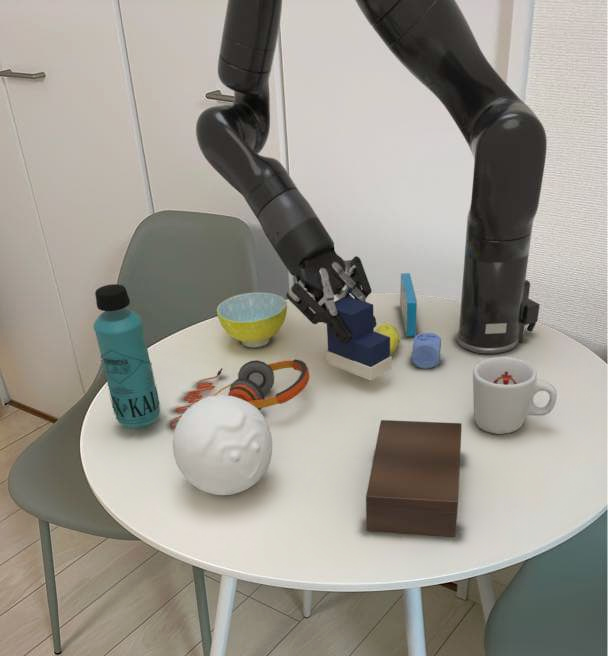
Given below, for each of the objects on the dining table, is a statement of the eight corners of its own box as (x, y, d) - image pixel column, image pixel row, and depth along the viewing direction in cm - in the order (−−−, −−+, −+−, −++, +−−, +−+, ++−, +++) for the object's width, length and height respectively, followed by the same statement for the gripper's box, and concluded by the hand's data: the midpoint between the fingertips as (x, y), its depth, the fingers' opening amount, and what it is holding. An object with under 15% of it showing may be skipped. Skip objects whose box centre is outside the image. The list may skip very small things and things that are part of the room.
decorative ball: (213, 528, 88) (197, 442, 81) (165, 482, 96) (146, 400, 88) (295, 488, 93) (288, 404, 86) (243, 448, 101) (232, 367, 93)
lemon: (370, 360, 117) (370, 337, 115) (376, 338, 123) (376, 315, 121) (397, 361, 117) (397, 338, 114) (402, 338, 123) (402, 315, 120)
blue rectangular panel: (400, 307, 132) (400, 272, 128) (408, 306, 132) (409, 272, 128) (406, 337, 123) (407, 301, 119) (415, 337, 123) (416, 300, 119)
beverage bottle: (120, 415, 110) (86, 280, 97) (165, 411, 110) (137, 276, 97) (115, 439, 105) (78, 301, 92) (163, 435, 105) (133, 296, 92)
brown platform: (380, 452, 98) (380, 419, 95) (458, 456, 96) (461, 423, 93) (366, 531, 86) (365, 496, 83) (455, 537, 84) (458, 501, 81)
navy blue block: (326, 362, 113) (322, 305, 107) (347, 351, 115) (345, 294, 110) (371, 381, 108) (370, 321, 102) (392, 368, 110) (392, 310, 104)
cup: (553, 415, 102) (563, 361, 97) (547, 446, 97) (557, 391, 91) (473, 405, 105) (478, 353, 100) (463, 436, 100) (468, 382, 95)
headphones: (169, 445, 107) (300, 425, 100) (154, 413, 104) (288, 390, 97) (204, 387, 120) (323, 366, 113) (192, 357, 116) (313, 334, 110)
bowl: (207, 349, 124) (202, 313, 120) (247, 322, 131) (243, 287, 127) (264, 363, 119) (260, 326, 115) (302, 333, 126) (300, 298, 122)
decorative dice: (438, 369, 114) (439, 344, 111) (411, 368, 115) (412, 343, 112) (440, 356, 117) (441, 332, 114) (414, 356, 118) (415, 332, 115)
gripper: (269, 231, 100) (339, 340, 101) (342, 202, 108) (407, 305, 108) (248, 262, 107) (313, 365, 108) (318, 233, 114) (379, 329, 115)
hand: (360, 334), depth 108 cm, fingers closed on navy blue block, 4 cm apart
